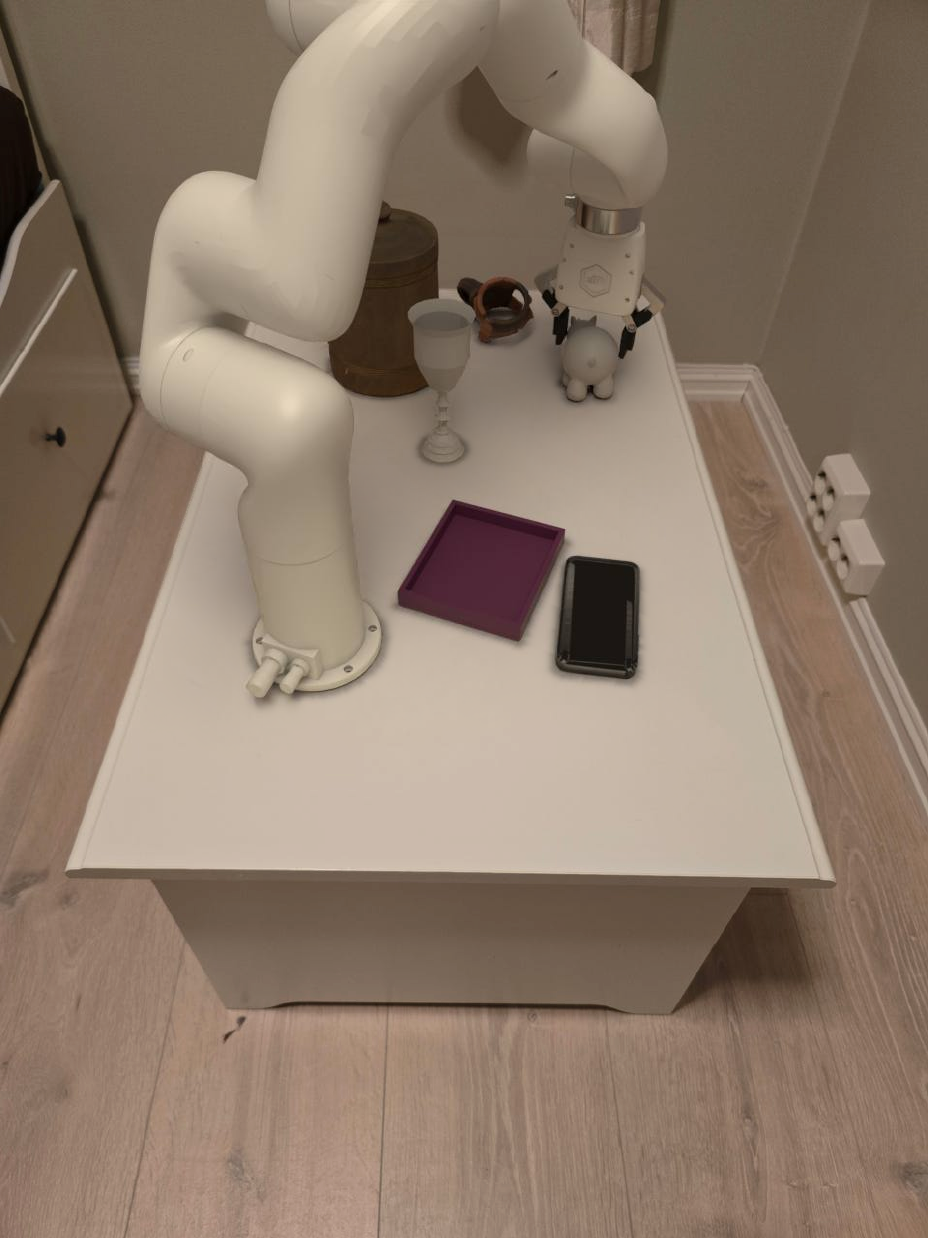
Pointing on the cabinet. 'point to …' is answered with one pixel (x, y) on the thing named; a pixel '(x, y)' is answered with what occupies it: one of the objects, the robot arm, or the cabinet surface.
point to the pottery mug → (496, 305)
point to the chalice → (442, 363)
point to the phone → (599, 617)
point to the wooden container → (389, 308)
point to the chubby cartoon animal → (588, 359)
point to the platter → (483, 569)
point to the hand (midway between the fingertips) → (592, 345)
